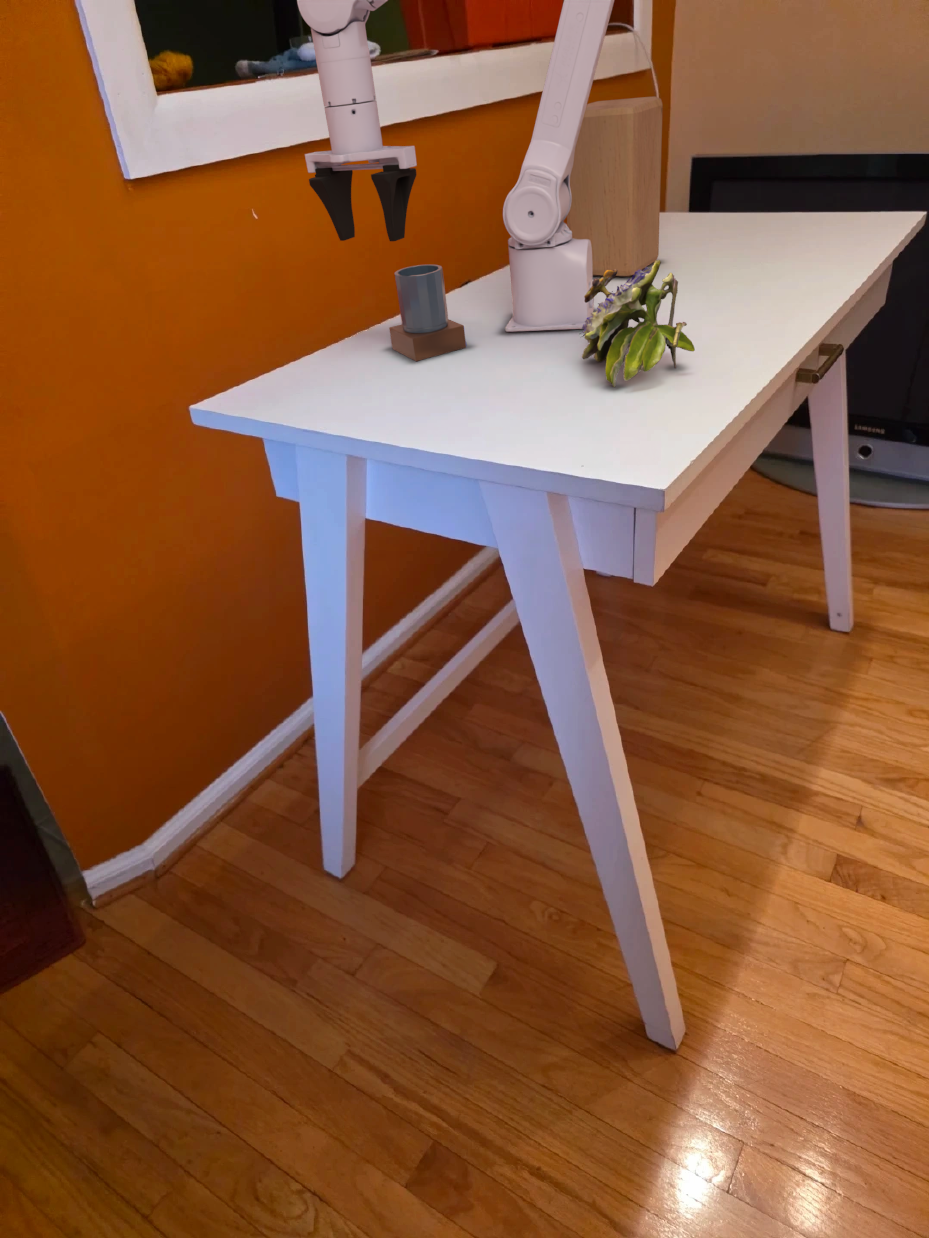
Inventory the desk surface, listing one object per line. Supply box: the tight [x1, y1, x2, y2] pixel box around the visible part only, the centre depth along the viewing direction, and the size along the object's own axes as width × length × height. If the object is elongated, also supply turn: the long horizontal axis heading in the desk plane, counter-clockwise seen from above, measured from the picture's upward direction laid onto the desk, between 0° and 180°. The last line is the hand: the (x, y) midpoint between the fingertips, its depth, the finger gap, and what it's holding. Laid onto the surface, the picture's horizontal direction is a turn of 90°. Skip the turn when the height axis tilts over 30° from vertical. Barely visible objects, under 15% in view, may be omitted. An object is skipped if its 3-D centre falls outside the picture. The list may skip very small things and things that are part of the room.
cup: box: [394, 264, 449, 333], centre depth 90 cm, size 5×5×6 cm
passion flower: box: [579, 259, 696, 388], centre depth 78 cm, size 11×11×12 cm
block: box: [388, 318, 467, 362], centre depth 93 cm, size 6×6×2 cm
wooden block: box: [566, 95, 663, 278], centre depth 109 cm, size 10×10×20 cm
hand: (371, 239), depth 96 cm, fingers open, 7 cm apart
